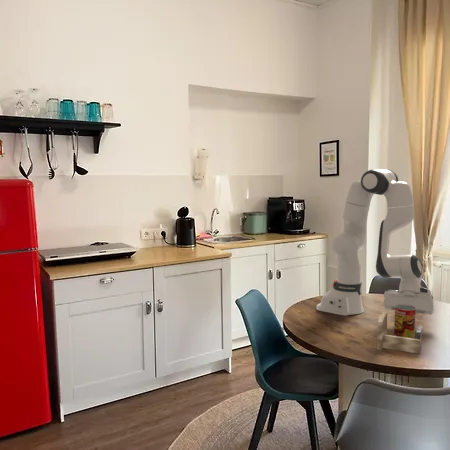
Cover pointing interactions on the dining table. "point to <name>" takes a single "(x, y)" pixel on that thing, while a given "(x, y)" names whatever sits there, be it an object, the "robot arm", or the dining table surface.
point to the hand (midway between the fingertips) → (406, 319)
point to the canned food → (404, 321)
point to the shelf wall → (394, 338)
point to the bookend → (419, 334)
